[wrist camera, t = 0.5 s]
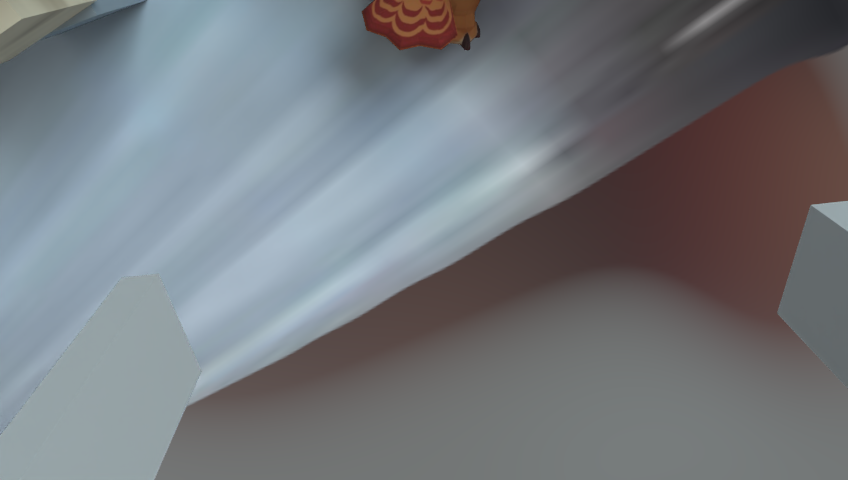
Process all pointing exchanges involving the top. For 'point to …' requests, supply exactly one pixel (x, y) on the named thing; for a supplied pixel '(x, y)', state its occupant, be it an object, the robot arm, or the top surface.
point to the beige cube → (32, 22)
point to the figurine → (423, 22)
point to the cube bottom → (93, 14)
